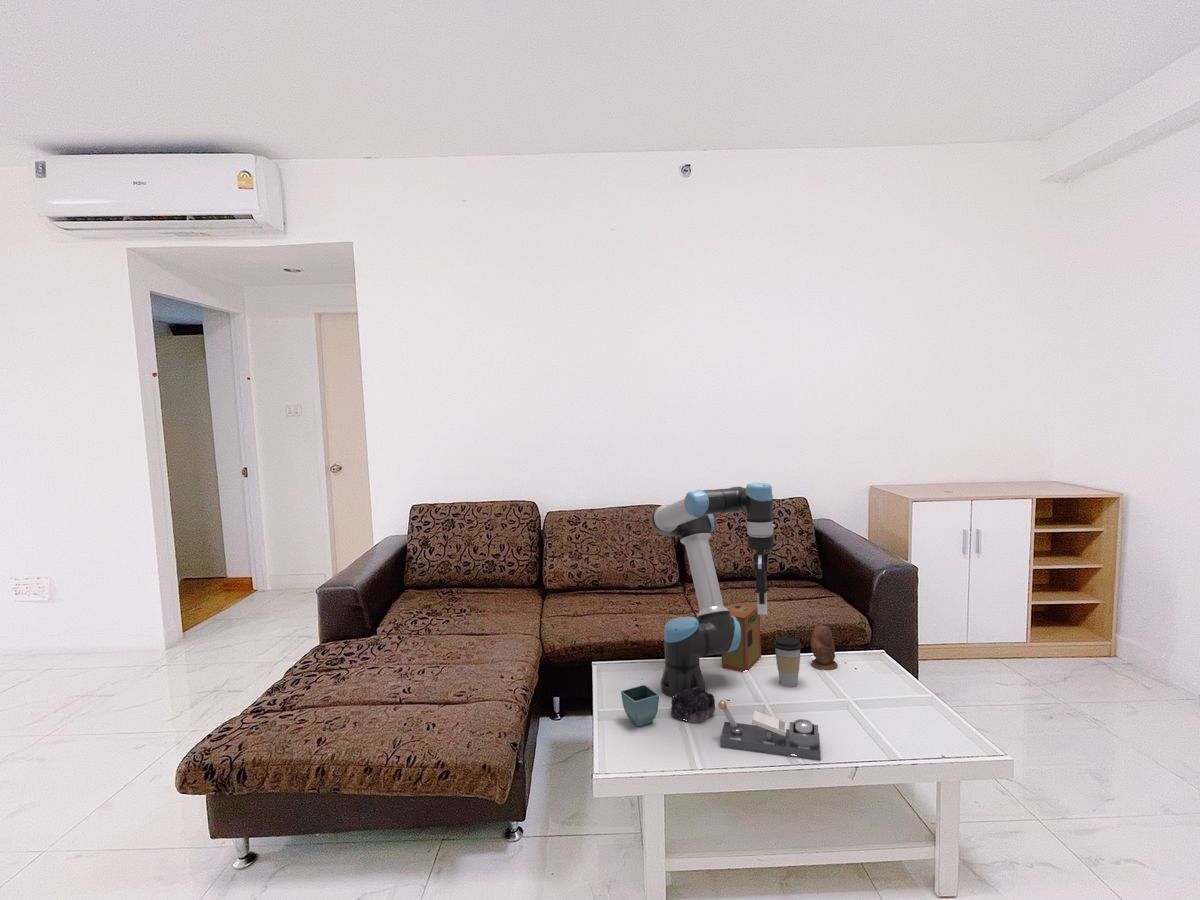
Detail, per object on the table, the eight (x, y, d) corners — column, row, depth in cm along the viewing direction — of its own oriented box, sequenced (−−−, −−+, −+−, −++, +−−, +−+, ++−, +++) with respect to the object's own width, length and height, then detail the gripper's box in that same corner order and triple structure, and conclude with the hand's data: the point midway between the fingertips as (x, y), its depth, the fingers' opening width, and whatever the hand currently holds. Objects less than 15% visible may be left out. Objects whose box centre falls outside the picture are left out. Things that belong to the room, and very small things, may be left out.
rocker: (751, 723, 165) (753, 719, 165) (753, 714, 171) (754, 710, 171) (785, 736, 163) (786, 731, 163) (785, 726, 168) (786, 722, 168)
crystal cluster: (668, 707, 193) (665, 678, 192) (709, 701, 193) (706, 672, 192) (675, 731, 180) (672, 700, 178) (720, 724, 180) (716, 693, 179)
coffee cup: (799, 677, 210) (798, 635, 210) (806, 689, 201) (804, 645, 200) (771, 677, 211) (770, 635, 211) (777, 689, 202) (775, 645, 201)
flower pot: (635, 731, 176) (634, 701, 176) (621, 719, 184) (620, 690, 184) (660, 724, 180) (659, 694, 180) (645, 712, 188) (644, 684, 188)
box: (746, 673, 216) (744, 617, 215) (722, 668, 221) (720, 614, 220) (761, 657, 230) (759, 605, 229) (738, 653, 235) (736, 602, 234)
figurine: (810, 671, 217) (806, 629, 217) (811, 661, 226) (806, 621, 227) (837, 671, 214) (833, 629, 214) (837, 662, 223) (832, 621, 223)
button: (795, 740, 162) (795, 725, 162) (795, 732, 167) (795, 718, 167) (812, 742, 161) (812, 727, 161) (812, 734, 165) (812, 720, 165)
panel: (720, 746, 166) (719, 727, 166) (724, 729, 176) (724, 711, 176) (820, 760, 158) (819, 740, 158) (819, 741, 167) (818, 722, 167)
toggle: (730, 729, 169) (715, 704, 170) (731, 725, 171) (717, 700, 172) (738, 726, 168) (723, 701, 169) (738, 722, 171) (724, 697, 172)
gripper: (772, 539, 171) (774, 621, 172) (774, 531, 184) (776, 608, 184) (745, 538, 174) (747, 619, 174) (749, 531, 186) (751, 606, 187)
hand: (762, 613), depth 179 cm, fingers closed
